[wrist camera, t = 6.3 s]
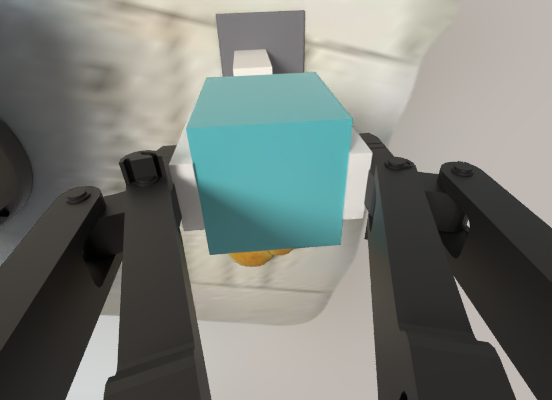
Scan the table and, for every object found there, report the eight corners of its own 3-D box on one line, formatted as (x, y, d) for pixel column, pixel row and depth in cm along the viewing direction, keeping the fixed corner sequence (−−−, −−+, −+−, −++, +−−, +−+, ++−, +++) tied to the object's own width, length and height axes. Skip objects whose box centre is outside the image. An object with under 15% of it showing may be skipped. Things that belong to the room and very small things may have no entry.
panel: (225, 96, 30) (225, 97, 30) (215, 13, 26) (215, 14, 26) (302, 92, 30) (302, 93, 30) (303, 10, 26) (304, 10, 26)
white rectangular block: (237, 82, 29) (236, 107, 23) (234, 50, 27) (232, 68, 22) (267, 81, 29) (273, 105, 23) (265, 49, 28) (272, 66, 22)
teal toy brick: (220, 174, 18) (209, 254, 13) (206, 77, 16) (185, 128, 10) (312, 168, 19) (340, 244, 13) (315, 72, 16) (353, 118, 10)
